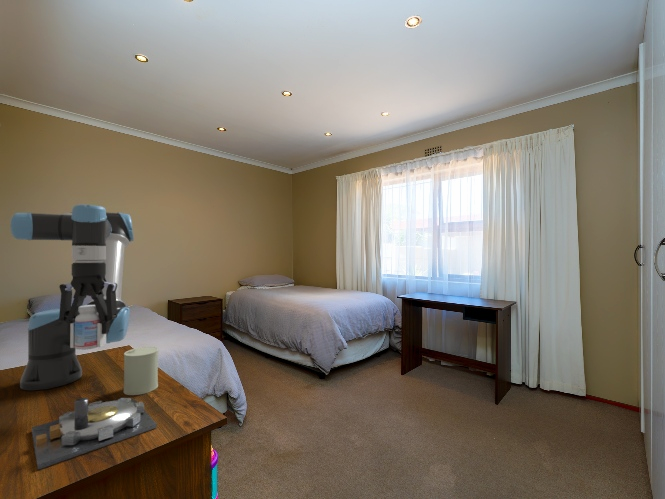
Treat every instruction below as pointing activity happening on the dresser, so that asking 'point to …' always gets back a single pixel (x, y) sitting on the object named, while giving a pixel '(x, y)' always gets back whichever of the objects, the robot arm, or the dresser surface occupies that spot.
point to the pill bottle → (86, 327)
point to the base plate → (56, 452)
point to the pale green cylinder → (140, 370)
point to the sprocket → (96, 420)
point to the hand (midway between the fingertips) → (88, 345)
